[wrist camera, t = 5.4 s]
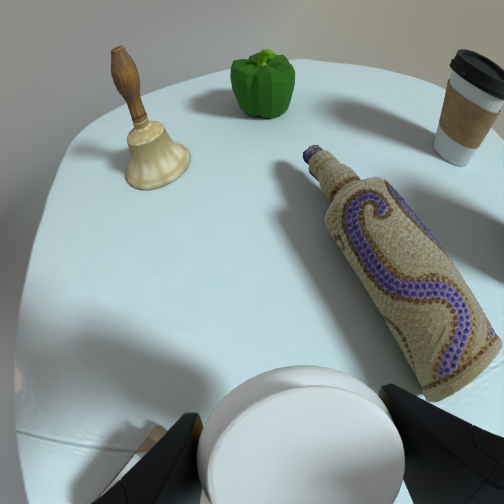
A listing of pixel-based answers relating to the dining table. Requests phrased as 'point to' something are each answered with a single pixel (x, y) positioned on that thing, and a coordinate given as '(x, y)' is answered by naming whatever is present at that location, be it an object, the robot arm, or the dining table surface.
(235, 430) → the supplement bottle
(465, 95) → the coffee cup
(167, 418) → the dining table surface
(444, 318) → the decorative bottle
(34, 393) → the dining table surface
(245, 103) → the bell pepper
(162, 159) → the hand bell
